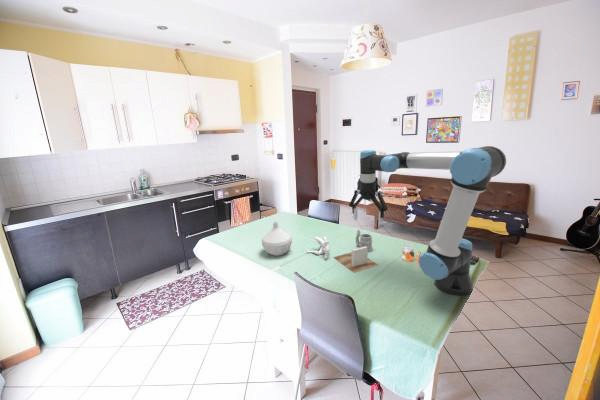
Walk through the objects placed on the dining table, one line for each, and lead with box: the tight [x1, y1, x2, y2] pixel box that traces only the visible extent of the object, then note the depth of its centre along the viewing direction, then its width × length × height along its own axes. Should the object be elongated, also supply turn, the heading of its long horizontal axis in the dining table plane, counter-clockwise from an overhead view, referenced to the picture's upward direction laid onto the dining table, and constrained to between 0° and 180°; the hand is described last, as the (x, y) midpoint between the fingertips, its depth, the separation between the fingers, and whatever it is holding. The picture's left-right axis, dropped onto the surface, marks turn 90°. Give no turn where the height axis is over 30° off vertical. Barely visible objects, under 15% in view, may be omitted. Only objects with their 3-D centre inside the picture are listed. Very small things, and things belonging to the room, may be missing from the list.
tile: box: [351, 246, 369, 267], centre depth 147 cm, size 2×9×9 cm, turn 115°
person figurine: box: [305, 236, 331, 260], centre depth 164 cm, size 13×13×18 cm
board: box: [332, 251, 379, 274], centre depth 152 cm, size 20×16×1 cm
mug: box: [355, 229, 373, 253], centre depth 166 cm, size 8×12×12 cm, turn 35°
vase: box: [261, 221, 293, 257], centre depth 168 cm, size 18×18×19 cm
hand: (367, 221), depth 145 cm, fingers open, 13 cm apart
